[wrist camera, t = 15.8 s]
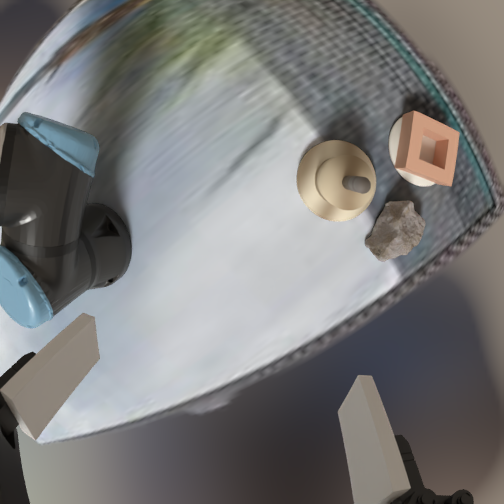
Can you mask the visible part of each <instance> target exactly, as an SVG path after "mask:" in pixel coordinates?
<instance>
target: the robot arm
mask: <svg viewBox="0 0 504 504" xmlns="http://www.w3.org/2000/svg"><path fill="white" fill-rule="evenodd" d="M98 153H99V143H98V141H97V139H96V138H95V137H94V136H93V135H91V134H89V133H87V132H84V131H82V130H79V129H77V128H74V127H71V126H69V125H66V124H63V123H60V122H57V121H54V120H51V119H48V118H45V117H42V116H39V115H35V114H31V113H28V112H24V113H22V114H21V116H20V117H19V118H18V124H13V123H4V124H2V125H1V126H0V226H2V238H1V245H0V305H1V306H2V308H3V309H4V310H5V312H6V313H7V314H8V315H9V316H10V317H11V318H12V319H13V320H14V321H15V322H17V323H18V324H19V325H21V326H23V327H26V328H36V327H38V326H40V325H41V324H43V323H44V322H46V321H48V320H51V319H52V318H53V316H54V315H56V314H57V313H58V312H59V311H61V310H62V309H63V308H64V307H66V306H67V305H68V304H69V303H71V302H72V301H73V300H75V299H76V298H77V297H78V296H80V295H81V294H82V293H84V292H85V291H86V290H89V289H95V288H102V287H107V286H109V285H111V284H113V283H115V282H116V281H117V280H118V279H120V278H121V277H122V276H123V275H124V273H125V272H126V270H127V268H128V266H129V263H130V259H131V243H130V238H129V234H128V231H127V229H126V227H125V225H124V223H123V221H122V220H121V218H120V217H119V216H118V215H117V214H116V213H115V212H114V211H113V210H112V209H110V208H109V207H107V206H105V205H102V204H97V203H92V204H87V199H88V195H89V191H90V187H91V183H92V179H93V177H94V176H95V172H94V170H95V165H96V161H97V157H98ZM86 204H87V205H86ZM99 359H100V355H99V349H98V341H97V334H96V325H95V317H93V316H90V315H88V314H85V313H82V314H81V315H80V316H79V317H78V318H76V319H75V320H74V321H73V322H72V323H71V324H69V325H68V326H67V327H66V328H65V329H64V330H63V331H61V332H60V333H59V334H58V335H57V336H56V337H55V338H54V339H52V340H51V341H50V342H49V343H48V344H47V345H46V346H45V347H44V348H43V349H41V350H40V351H39V352H38V353H37V354H36V353H34V352H30V353H28V354H26V355H24V356H22V357H21V358H20V359H19V360H18V361H17V363H15V364H14V365H13V366H12V367H11V368H9V369H8V370H7V371H6V372H5V373H4V374H3V375H2V376H1V377H0V504H30V502H29V498H28V494H27V490H26V485H25V480H24V476H23V470H22V464H21V458H20V452H19V442H18V434H17V429H16V427H17V426H18V425H19V426H20V427H21V429H22V430H23V432H24V433H26V434H27V435H28V436H30V437H31V438H33V439H34V440H35V441H36V440H37V438H38V437H39V435H40V434H41V433H42V431H43V430H44V429H45V427H46V426H47V425H48V423H49V422H50V421H51V419H52V418H53V417H54V415H55V414H56V413H57V411H58V410H59V409H60V408H61V406H62V405H63V404H64V402H65V401H66V400H67V399H68V397H69V396H70V395H71V393H72V392H73V391H74V390H75V388H76V387H77V386H78V385H79V383H80V382H81V381H82V380H83V378H84V377H85V376H86V375H87V374H88V372H89V371H90V370H91V369H92V367H93V366H94V365H95V364H96V363H97V361H98V360H99ZM338 415H339V420H340V424H341V430H342V435H343V440H344V445H345V451H346V456H347V461H348V468H349V473H350V479H351V486H352V492H353V499H354V504H473V502H474V501H473V496H472V494H471V493H470V492H469V491H467V490H464V489H463V490H459V491H457V492H455V493H454V494H453V495H451V496H441V495H436V494H435V493H434V492H433V491H432V490H430V489H426V488H425V487H424V485H423V482H422V479H421V476H420V473H419V470H418V468H417V465H416V462H415V461H414V456H413V454H412V451H411V448H410V445H409V443H408V441H407V440H406V439H405V438H404V437H403V436H402V435H395V436H394V434H393V431H392V429H391V425H390V423H389V420H388V417H387V414H386V412H385V409H384V407H383V404H382V401H381V398H380V396H379V393H378V391H377V388H376V386H375V383H374V381H373V378H372V376H365V375H358V376H357V378H356V380H355V382H354V384H353V386H352V388H351V389H350V391H349V393H348V395H347V397H346V398H345V400H344V402H343V404H342V405H341V407H340V409H339V410H338Z"/></svg>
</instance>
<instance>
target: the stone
mask: <svg viewBox="0 0 504 504" xmlns="http://www.w3.org/2000/svg"><path fill="white" fill-rule="evenodd" d="M425 225H426V224H425V220H424V219H423V218H422V217H420V215H419V214H418V213H417V212H416V211H415V210H414V203H413V202H412V201H409V200H407V201H393V202H392V201H390V202H388V203H386V204H385V207H384V209H383V211H382V213H381V214H380V216H379V218H378V219H377V221H376V224H375V226H374V228H373V231H372V234H371V236H370V237H369V238H368V239H366V240H365V246H366V247H368V248H369V249H370V251H371V252H372V253H373V254H374V255H375V256H376V258H377V259H378V260H379V261H382V262H385V261H386V260H388V259H393V258H396V257H398V256H399V255H407V254H408V253H409V252H410V251H411V250H412V248H413V247H414V246H417V245H418V243H419V242H420V240H421V238H422V235H423V230H424V228H425Z"/></svg>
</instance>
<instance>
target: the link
mask: <svg viewBox="0 0 504 504" xmlns="http://www.w3.org/2000/svg"><path fill="white" fill-rule="evenodd" d="M423 135H424V136H427V137H429V138H431V139H433V140H435V141H436V145H435V152H434V159H433V165H432V164H430V163H428V162H425V161H423V160H420V159H419V157H420V150H421V144H422V137H423ZM458 141H459V132H457V131H456V130H454V129H452V128H450V127H448V126H446V125H444V124H442V123H440V122H438V121H436V120H434V119H432V118H430V117H428V116H425V115H423V114H421V113H419V112H417V111H411V112H408V113H406V114H403V117H402V125H401V132H400V138H399V145H398V151H397V156H396V162H395V167H394V168H397V169H400V170H402V171H405V172H408V173H411V174H413V175H416V176H419V177H421V178H424V179H426V180H429V181H432V182H434V183H436V184H439V185H446V186H452V181H453V176H454V170H455V163H456V156H457V149H458Z"/></svg>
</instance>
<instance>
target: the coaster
mask: <svg viewBox="0 0 504 504" xmlns="http://www.w3.org/2000/svg"><path fill="white" fill-rule="evenodd" d="M401 125H402V117H401V118H400V119H398V120H397V121H396V122H395V124H394V125H393V127H392V129H391V131H390V134H389V141H388V148H389V154H390V158H391V161H392V163H393V165H394V167H395V162H396V156H397V151H398V145H399V138H400V132H401ZM435 145H436V141H435V140H433V139H431V138H429V137H427V136H424V135H423V137H422V144H421V150H420V157H419V159H420V160H423V161H425V162H428V163H430V164H432V165H433V159H434V152H435ZM395 169H396V171H397V172H398V173H399V174H400V175H401V176H402V178H404V179H405V180H406V181H408V182H409V183H411V184H414V185H417V186H430V185H433V184H435V183H434V182H432V181H429V180H426V179H424V178H421V177H419V176H416V175H413V174H411V173H408V172H405V171H402V170H400V169H397V168H395Z"/></svg>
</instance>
